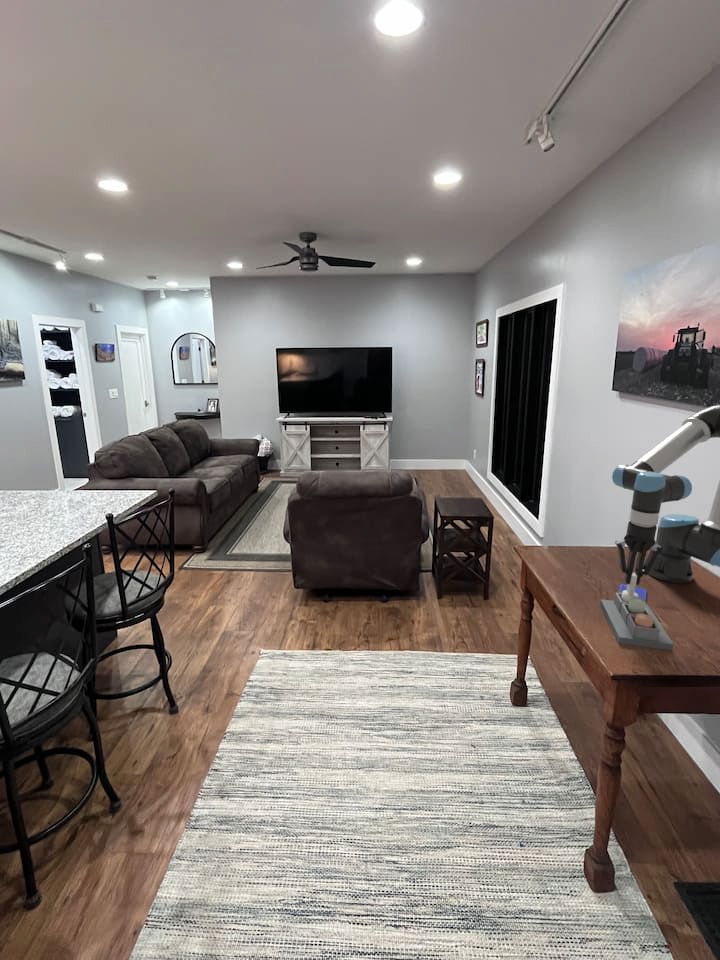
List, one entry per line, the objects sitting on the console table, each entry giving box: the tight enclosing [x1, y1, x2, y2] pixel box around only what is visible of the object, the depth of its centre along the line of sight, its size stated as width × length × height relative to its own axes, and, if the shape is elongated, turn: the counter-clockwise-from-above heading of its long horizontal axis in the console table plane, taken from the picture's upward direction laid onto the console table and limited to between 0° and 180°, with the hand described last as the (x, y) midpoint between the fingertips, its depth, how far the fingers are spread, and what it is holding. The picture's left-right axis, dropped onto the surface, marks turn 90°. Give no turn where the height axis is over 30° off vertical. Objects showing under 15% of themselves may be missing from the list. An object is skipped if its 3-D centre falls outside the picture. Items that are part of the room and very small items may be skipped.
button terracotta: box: [635, 614, 653, 628], centre depth 138 cm, size 4×4×4 cm
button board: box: [599, 591, 674, 651], centre depth 146 cm, size 14×22×6 cm, turn 167°
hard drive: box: [618, 583, 648, 601], centre depth 164 cm, size 2×8×12 cm
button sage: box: [628, 596, 647, 614], centre depth 144 cm, size 4×4×4 cm
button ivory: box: [621, 590, 638, 602], centre depth 151 cm, size 4×4×4 cm
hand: (630, 592), depth 151 cm, fingers closed
